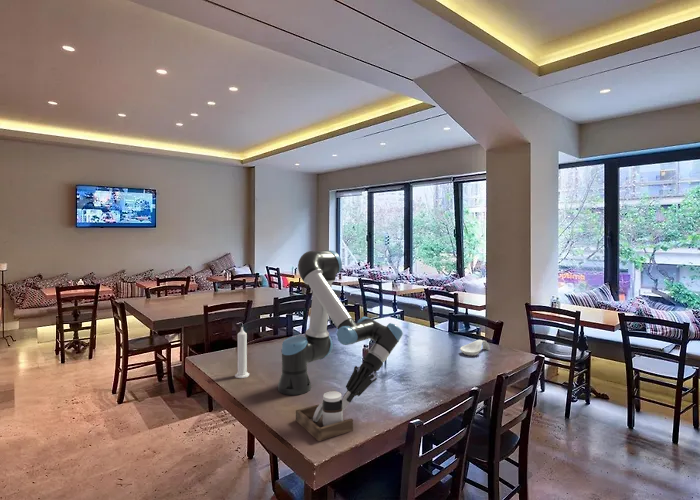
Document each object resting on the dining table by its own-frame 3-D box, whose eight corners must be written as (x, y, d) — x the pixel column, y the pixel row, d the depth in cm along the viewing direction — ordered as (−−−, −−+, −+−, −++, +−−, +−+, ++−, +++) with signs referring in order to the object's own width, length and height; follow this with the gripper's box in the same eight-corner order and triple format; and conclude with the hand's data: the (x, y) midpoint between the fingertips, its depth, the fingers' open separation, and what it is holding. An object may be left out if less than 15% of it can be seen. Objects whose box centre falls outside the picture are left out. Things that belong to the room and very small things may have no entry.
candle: (240, 379, 196) (239, 329, 195) (232, 375, 200) (232, 327, 200) (252, 375, 201) (252, 326, 200) (244, 372, 206) (244, 324, 205)
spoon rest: (473, 359, 232) (473, 346, 231) (456, 354, 241) (456, 342, 240) (494, 351, 247) (494, 340, 247) (477, 347, 256) (478, 336, 256)
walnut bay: (295, 420, 152) (295, 410, 152) (327, 411, 160) (327, 402, 160) (318, 441, 137) (318, 429, 136) (352, 430, 144) (352, 419, 144)
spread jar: (343, 431, 143) (343, 400, 143) (312, 433, 142) (312, 401, 142) (341, 416, 155) (341, 387, 155) (312, 417, 154) (312, 388, 154)
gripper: (391, 367, 157) (356, 419, 148) (371, 358, 168) (338, 406, 159) (380, 356, 154) (344, 408, 145) (361, 348, 165) (326, 396, 156)
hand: (341, 407), depth 152 cm, fingers closed
